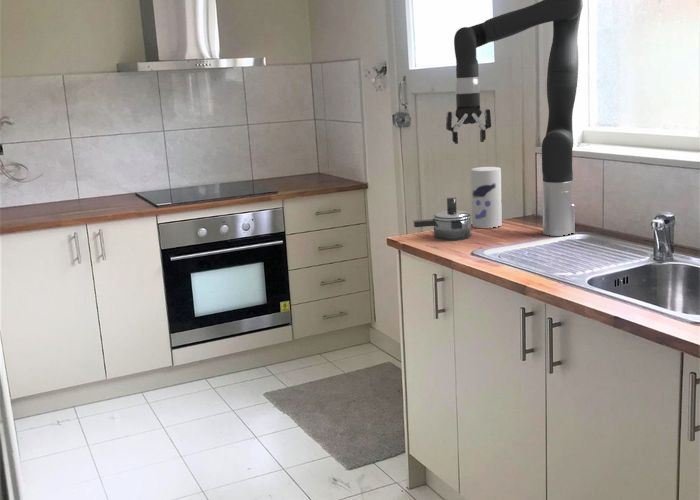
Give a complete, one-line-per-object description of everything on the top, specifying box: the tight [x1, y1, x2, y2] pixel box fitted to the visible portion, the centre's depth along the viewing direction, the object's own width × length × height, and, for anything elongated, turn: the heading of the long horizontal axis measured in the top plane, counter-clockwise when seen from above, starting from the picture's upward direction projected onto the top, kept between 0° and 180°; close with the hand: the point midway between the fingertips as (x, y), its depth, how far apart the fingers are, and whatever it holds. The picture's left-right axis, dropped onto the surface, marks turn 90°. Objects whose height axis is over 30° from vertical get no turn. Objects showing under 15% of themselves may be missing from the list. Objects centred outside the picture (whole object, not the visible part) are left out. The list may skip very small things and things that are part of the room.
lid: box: [435, 197, 469, 219], centre depth 254 cm, size 10×10×6 cm
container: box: [470, 166, 503, 229], centre depth 268 cm, size 10×10×20 cm
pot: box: [413, 213, 472, 242], centre depth 254 cm, size 19×14×7 cm
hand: (469, 142), depth 253 cm, fingers open, 8 cm apart
